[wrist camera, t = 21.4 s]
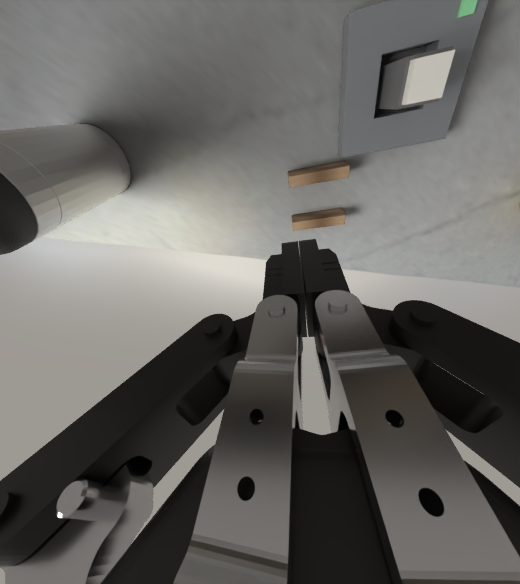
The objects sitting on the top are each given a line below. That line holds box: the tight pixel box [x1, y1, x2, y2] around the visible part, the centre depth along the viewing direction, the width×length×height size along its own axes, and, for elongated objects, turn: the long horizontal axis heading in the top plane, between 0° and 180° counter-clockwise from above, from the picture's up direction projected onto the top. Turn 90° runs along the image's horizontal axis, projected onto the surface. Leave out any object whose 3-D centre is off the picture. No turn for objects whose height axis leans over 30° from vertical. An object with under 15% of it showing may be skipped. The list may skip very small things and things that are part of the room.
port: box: [338, 0, 489, 158], centre depth 24 cm, size 12×12×3 cm
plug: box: [375, 46, 455, 109], centre depth 22 cm, size 4×4×8 cm
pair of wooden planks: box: [288, 161, 350, 231], centre depth 32 cm, size 8×8×3 cm
